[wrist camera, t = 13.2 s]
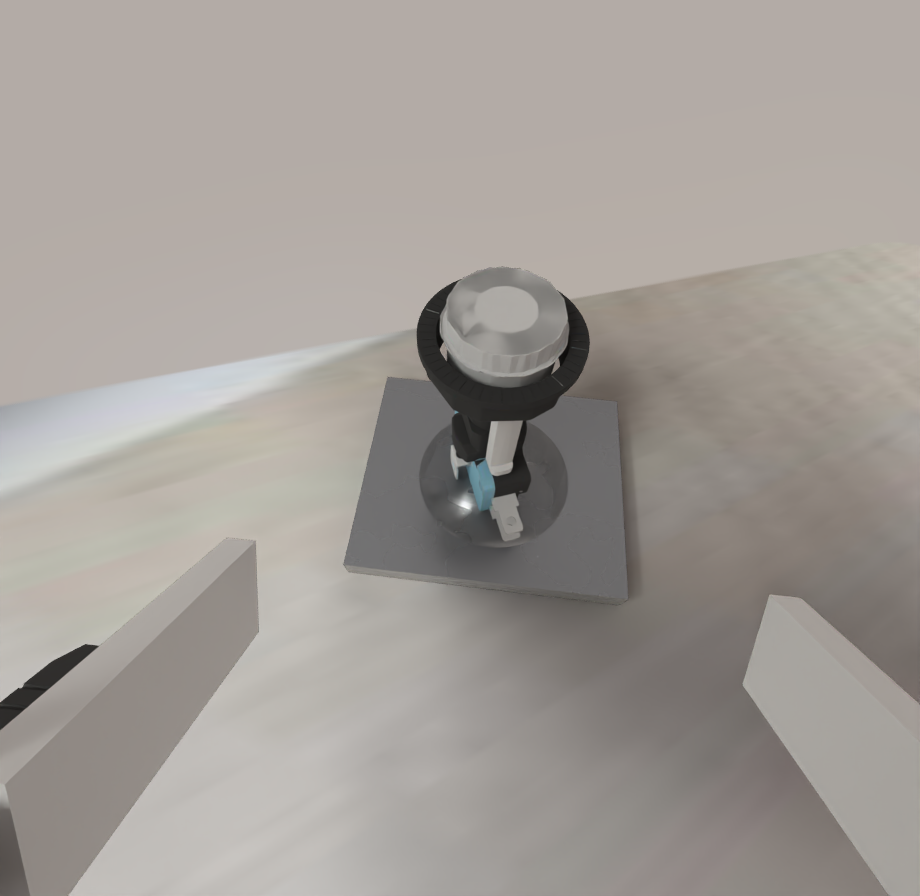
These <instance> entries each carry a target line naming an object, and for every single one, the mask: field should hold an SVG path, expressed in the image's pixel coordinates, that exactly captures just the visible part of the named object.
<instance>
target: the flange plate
mask: <svg viewBox="0 0 920 896" xmlns="http://www.w3.org/2000/svg"><path fill="white" fill-rule="evenodd" d="M454 415H455V410H453V409H452V408H451V407H450V405H449V404H448V403H447V401H446V400H445V399H444V397H443V396H442V395H441V393H440V392H439V391H438V389H437V388H436V387H435V385H434V384H433V383H432V382H430V381H420V380H411V379H402V378H392V377H388V378H387V382H386V386H385V390H384V395H383V399H382V403H381V407H380V412H379V416H378V420H377V424H376V429H375V433H374V437H373V441H372V446H371V450H370V454H369V458H368V462H367V467H366V471H365V475H364V479H363V484H362V488H361V492H360V496H359V501H358V505H357V509H356V513H355V518H354V522H353V526H352V530H351V535H350V539H349V543H348V547H347V551H346V556H345V560H344V564H343V565H344V566H345V568H346V569H347V571H348V572H352V573H360V574H368V575H377V576H385V577H393V578H401V579H409V580H418V581H426V582H434V583H442V584H451V585H459V586H467V587H475V588H483V589H492V590H500V591H508V592H516V593H524V594H533V595H541V596H549V597H557V598H566V599H574V600H582V601H590V602H598V603H607V604H615V605H620V604H622V603H623V602H625V601H627V600H628V584H627V566H626V549H625V531H624V514H623V496H622V479H621V461H620V444H619V426H618V409H617V401H607V400H598V399H589V398H579V397H570V396H560V397H559V399H558V401H557V403H556V405H555V406H554V407H553V408H552V409H550V410H548V411H546V412H545V413H543V414H541V415H539V416H537V417H536V418H534V419H532V420H528V421H526V423H527V433H526V438H525V441H524V444H523V448H522V449H523V455H524V457H525V460H526V463H527V466H528V468H529V471H530V474H531V483H530V485H529V488H528V491H527V492H526V493H522V494H519V496H518V499H517V500H518V503H519V506H517V507H516V508H517V511H518V514H519V517H520V520H521V523H522V525H523V530H522V531H521V532H519V533H520V537H519V538H518V539H514V540H510V541H506V542H505V541H503V539H502V536H501V533H500V530H499V527H498V523H497V520H496V519H492V516H491V512H490V509H488V510H484V511H479V508H478V505H477V502H476V499H475V495H474V492H473V488H472V485H471V482H470V478H469V475H468V472H467V468H466V465H465V466H460V467H458V479H457V480H456V478H455V475H454V471H453V468H452V464H451V445H453V441H452V417H453V416H454ZM515 521H516V520H515ZM509 526H511V525H509Z"/></svg>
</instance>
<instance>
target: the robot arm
mask: <svg viewBox="0 0 920 896" xmlns="http://www.w3.org/2000/svg"><path fill="white" fill-rule="evenodd" d="M258 632H259V621H258V592H257V563H256V541H254V540H244V539H235V538H226V539H225V540H223V541H222V542H221V543H220V544H219V545H218V546H216V547H215V548H214V549H213V550H212V551H210V552H209V553H208V554H207V555H206V556H205V557H203V558H202V559H201V560H200V561H199V562H198V563H196V564H195V565H194V566H193V567H192V568H190V569H189V570H188V571H187V572H186V573H185V574H183V575H182V576H181V577H180V578H179V579H178V580H176V581H175V582H174V583H173V584H172V585H171V586H169V587H168V588H167V589H166V590H165V591H163V592H162V593H161V594H160V595H159V596H158V597H156V598H155V599H154V600H153V601H152V602H151V603H149V604H148V605H147V606H146V607H145V608H143V609H142V610H141V611H140V612H139V613H138V614H136V615H135V616H134V617H133V618H132V619H131V620H129V621H128V622H127V623H126V624H125V625H124V626H122V627H121V628H120V629H119V630H118V631H116V632H115V633H114V634H113V635H112V636H111V637H109V638H108V639H107V640H106V641H105V642H104V643H102V644H101V645H100V646H96V645H87V644H85V645H83V646H81V647H79V648H77V649H75V650H73V651H71V652H69V653H67V654H65V655H64V656H62V657H60V658H58V659H56V660H54V661H52V662H51V663H49V664H48V665H47V666H46V667H44V668H43V669H42V670H41V671H39V672H38V673H37V674H35V675H34V676H33V677H32V678H30V679H29V680H28V681H27V682H25V683H24V686H23V687H22V688H18V689H17V690H15V691H14V692H13V693H12V694H10V695H9V696H8V697H7V698H5V699H4V700H3V701H1V702H0V896H68V895H69V894H70V892H71V891H72V890H73V888H74V887H75V885H76V884H77V883H78V881H79V880H80V878H81V877H82V876H83V874H84V873H85V872H86V870H87V869H88V867H89V866H90V865H91V863H92V862H93V860H94V859H95V858H96V856H97V855H98V854H99V852H100V851H101V849H102V848H103V847H104V845H105V844H106V842H107V841H108V840H109V838H110V837H111V836H112V834H113V833H114V831H115V830H116V829H117V827H118V826H119V824H120V823H121V822H122V820H123V819H124V818H125V816H126V815H127V813H128V812H129V811H130V809H131V808H132V806H133V805H134V804H135V802H136V801H137V800H138V798H139V797H140V795H141V794H142V793H143V791H144V790H145V788H146V787H147V786H148V784H149V783H150V782H151V780H152V779H153V777H154V776H155V775H156V773H157V772H158V770H159V769H160V768H161V766H162V765H163V764H164V762H165V761H166V759H167V758H168V757H169V755H170V754H171V752H172V751H173V750H174V748H175V747H176V746H177V744H178V743H179V741H180V740H181V739H182V737H183V736H184V735H185V733H186V732H187V730H188V729H189V728H190V726H191V725H192V723H193V722H194V721H195V719H196V718H197V717H198V715H199V714H200V712H201V711H202V710H203V708H204V707H205V705H206V704H207V703H208V701H209V700H210V699H211V697H212V696H213V694H214V693H215V692H216V690H217V689H218V687H219V686H220V685H221V683H222V682H223V681H224V679H225V678H226V676H227V675H228V674H229V672H230V671H231V669H232V668H233V667H234V665H235V664H236V663H237V661H238V660H239V658H240V657H241V656H242V654H243V653H244V651H245V650H246V649H247V647H248V646H249V645H250V643H251V642H252V640H253V639H254V638H255V636H256V635H257V633H258ZM742 685H743V686H744V688H745V689H746V691H747V692H748V694H749V695H750V697H751V698H752V699H753V701H754V702H755V704H756V705H757V707H758V708H759V710H760V711H761V712H762V714H763V715H764V717H765V718H766V720H767V721H768V722H769V724H770V725H771V727H772V728H773V730H774V731H775V733H776V734H777V735H778V737H779V738H780V740H781V741H782V743H783V744H784V745H785V747H786V748H787V750H788V751H789V753H790V754H791V756H792V757H793V758H794V760H795V761H796V763H797V764H798V766H799V767H800V769H801V770H802V771H803V773H804V774H805V776H806V777H807V779H808V780H809V781H810V783H811V784H812V786H813V787H814V789H815V790H816V792H817V793H818V794H819V796H820V797H821V799H822V800H823V802H824V803H825V804H826V806H827V807H828V809H829V810H830V812H831V813H832V815H833V816H834V817H835V819H836V820H837V822H838V823H839V825H840V826H841V828H842V829H843V830H844V832H845V833H846V835H847V836H848V838H849V839H850V840H851V842H852V843H853V845H854V846H855V848H856V849H857V851H858V852H859V853H860V855H861V856H862V858H863V859H864V861H865V862H866V863H867V865H868V866H869V868H870V869H871V871H872V872H873V874H874V875H875V876H876V878H877V879H878V881H879V882H880V884H881V885H882V887H883V888H884V889H885V891H886V892H887V894H888V895H889V896H920V704H919V703H918V702H917V701H915V700H914V699H913V698H912V697H911V696H910V695H909V694H908V693H906V692H905V691H904V690H903V689H902V688H901V687H900V686H899V685H898V684H896V683H895V682H894V681H893V680H892V679H891V678H890V677H889V676H887V675H886V674H885V673H884V672H883V671H882V670H881V669H880V668H879V667H877V666H876V665H875V664H874V663H873V662H872V661H871V660H870V659H869V658H867V657H866V656H865V655H864V654H863V653H862V652H861V651H860V650H858V649H857V648H856V647H855V646H854V645H853V644H852V643H851V642H850V641H848V640H847V639H846V638H845V637H844V636H843V635H842V634H841V633H839V632H838V631H837V630H836V629H835V628H834V627H833V626H832V625H831V624H829V623H828V622H827V621H826V620H825V619H824V618H823V617H822V616H820V615H819V614H818V613H817V612H816V611H815V610H814V609H813V608H812V607H810V606H809V605H808V604H807V603H806V602H805V601H804V600H803V599H801V598H799V597H789V596H780V595H769V598H768V601H767V605H766V608H765V611H764V615H763V618H762V621H761V625H760V628H759V631H758V635H757V638H756V641H755V645H754V648H753V651H752V655H751V658H750V661H749V664H748V668H747V671H746V674H745V678H744V681H743V684H742Z"/></svg>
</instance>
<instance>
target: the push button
mask: <svg viewBox="0 0 920 896" xmlns="http://www.w3.org/2000/svg"><path fill="white" fill-rule="evenodd" d="M443 342H444V343H445V345H446V347H447V361H446V360H445V359H444V357H443V356H442V354H441V352H440V348H441V346H442V344H443ZM589 345H590V342H589V333H588V329H587V326H586V323H585V321H584V319H583V317H582V315H581V313H580V312H579V310H578V309H577V308H576V307H575V305H574V304H573V303H572V302H571V301H570V300H569V299H568V298H567V297H565V296H564V295H563V294H562V293H560V292H559V291H558V290H556V289H555V287H554V286H553V285H552V284H551V283H550V282H549V281H547V280H546V279H544V278H542V277H539V276H537V275H535V274H533V273H531V272H530V271H527V270H522V269H520V268H509V267H496V268H487V269H484V270H479V271H476V272H474V273H473V274H471V275H468V276H466V277H463V279H460V280H458V281H456V282H453V283H452V284H450V285H448V286H446V287H445V288H444V289H442V290H440V291H439V292H438V293H437V294H436V295H434V296H433V298H432V299H431V300H430V301H429V302H428V303H427V305H426V306H425V308H424V309H423V311H422V313H421V316H420V318H419V322H418V326H417V346H418V352H419V356H420V359H421V362H422V364H423V366H424V368H425V370H426V371H427V375H428V377H429V379H430V380H431V381H432V383H433V384H434V385H435V387H436V388H437V389H438V391H439V392H440V393H441V395H442V396H443V397H444V399H445V400H446V401H447V403H448V404H449V405H450V407H451V408H452V409H453V410H455V415H454V416H453V417H452V441H453V445H451V464H452V468H453V471H454V475H455V478H456V480H457V479H458V467H460V466H465V465H466V468H467V472H468V475H469V478H470V482H471V485H472V488H473V492H474V495H475V499H476V502H477V505H478V508H479V511H484V510H488V509H490V512H491V516H492V519H496V520H497V523H498V527H499V530H500V533H501V536H502V539H503V541H505V542H506V541H510V540H514V539H518V538H519V537H520V533H519V532H521V531H522V530H523V525H522V523H521V520H520V517H519V514H518V511H517V508H516V507H517V506H519V503H518V500H517V499H518V496H519V494H522V493H526V492H527V491H528V488H529V485H530V483H531V474H530V471H529V468H528V466H527V463H526V460H525V457H524V455H523V449H522V448H523V444H524V441H525V438H526V433H527V423H526V421H528V420H532V419H534V418H536V417H537V416H539V415H541V414H543V413H545V412H546V411H548V410H550V409H552V408H553V407H554V406H555V405H556V403H557V401H558V399H559V397H560V396H561V395H562V394H564V393H565V392H566V391H567V390H568V389H569V388H570V387H571V386H572V385H573V384H574V383H575V382H576V380H577V379H578V378H579V376H580V374H581V372H582V370H583V368H584V365H585V363H586V360H587V357H588V353H589ZM558 358H559V362H560V367H559V368H558V369H557V370H556V371H555V372H554V373H553V374H551V373H552V370H553V367H554V364H555V361H556V360H557V359H558ZM515 520H516V521H515ZM509 525H511V526H509Z"/></svg>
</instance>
